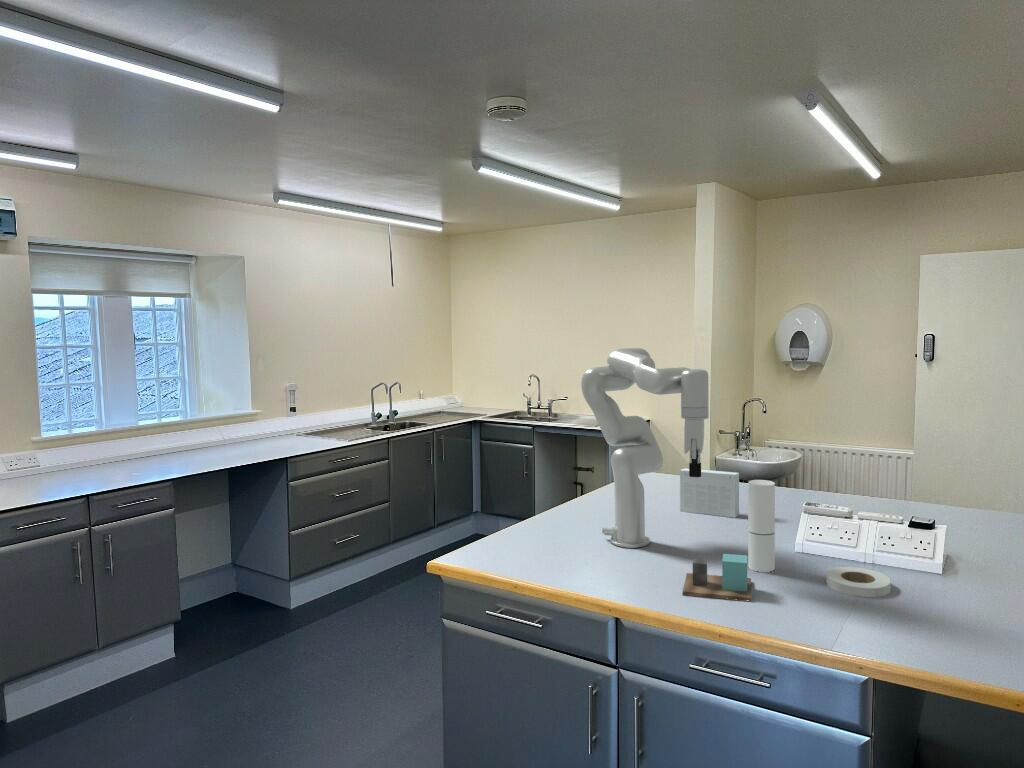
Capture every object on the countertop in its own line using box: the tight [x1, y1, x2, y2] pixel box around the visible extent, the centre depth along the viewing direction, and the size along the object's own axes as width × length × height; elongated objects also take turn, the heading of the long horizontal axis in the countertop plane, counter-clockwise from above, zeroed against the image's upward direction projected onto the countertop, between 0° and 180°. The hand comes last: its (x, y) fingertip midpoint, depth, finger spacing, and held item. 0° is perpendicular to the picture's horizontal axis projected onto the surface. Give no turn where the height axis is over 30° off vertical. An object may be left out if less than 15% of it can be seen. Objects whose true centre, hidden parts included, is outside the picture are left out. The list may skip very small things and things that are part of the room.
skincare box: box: [679, 468, 740, 519], centre depth 259 cm, size 21×5×16 cm, turn 58°
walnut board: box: [682, 558, 752, 602], centre depth 186 cm, size 17×14×7 cm
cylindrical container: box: [747, 479, 776, 573], centre depth 199 cm, size 7×7×25 cm
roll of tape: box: [825, 566, 892, 598], centre depth 185 cm, size 16×15×3 cm
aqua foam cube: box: [721, 553, 748, 592], centre depth 184 cm, size 6×6×8 cm
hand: (695, 476), depth 199 cm, fingers closed
